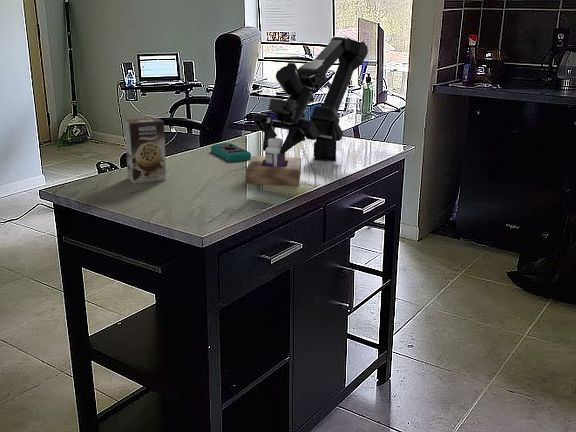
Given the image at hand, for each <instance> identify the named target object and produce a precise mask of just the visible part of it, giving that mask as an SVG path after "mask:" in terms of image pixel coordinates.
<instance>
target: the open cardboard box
mask: <svg viewBox="0 0 576 432" xmlns="http://www.w3.org/2000/svg"><path fill="white" fill-rule="evenodd" d="M249 160H250V161H249V163H248V164H247V167H246V170H245V171H246V173H245V174H246V175H245V176H246V181H245V182H246V184H249V185H253V184H254V185H274V186H275V185H276V186H280V185H281V186H300V182H301V174H302V157H291V156H289V157H288V156H285V167H273V166H265V155H264V156H261V155H260V156H259V155H251V159H249Z"/></svg>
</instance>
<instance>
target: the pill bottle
mask: <svg viewBox="0 0 576 432" xmlns="http://www.w3.org/2000/svg"><path fill="white" fill-rule="evenodd" d="M283 143H284V141H283V138H281V137H280V138H279V137H276V138H271V139H268V145H269V147H267V148H266V150H265V151H264V153H265V154H264V156H265V166H273V167H285V157H286V152H285V153H284V154H281V153H280V150H281V148H282V145H283Z"/></svg>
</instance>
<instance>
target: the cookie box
mask: <svg viewBox="0 0 576 432" xmlns="http://www.w3.org/2000/svg"><path fill="white" fill-rule="evenodd" d="M124 126H125V127H124V130H125V131H124V132H125V147H126V148H125V150H126V167H127V168H126V170H127V172H126V173H127V178H128V179H129V181H130V182H131V183H132V184H141V183H142V184H143V183H150V182H151V183H152V182H161V181H166V180H167V172H166V171H167V170H166V169H167V167H166V145H165V144H166V141H165V121H164V120H162V119H160V118H158V117H149V118H148V117H147V118H145V117H144V118H130V119H124Z"/></svg>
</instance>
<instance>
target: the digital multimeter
mask: <svg viewBox="0 0 576 432" xmlns="http://www.w3.org/2000/svg"><path fill="white" fill-rule="evenodd" d="M210 152H211V153H212V152H213V153H212V154H214V153H215V155H216V156H219V157H221V158H222V157H223V159H224V158H225V159H224V160H226V161H227V160H228V162H229V161H234V162H243V161H248V160H251V158H252V153H251V152H250V151H248V150H246V149H244V148H242V147H239V146H237V145H236V144H233V143H231V142H220V143H215V144H212V145H211V146H210Z"/></svg>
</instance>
